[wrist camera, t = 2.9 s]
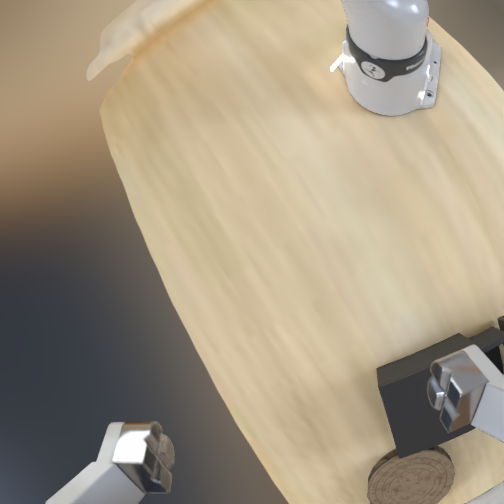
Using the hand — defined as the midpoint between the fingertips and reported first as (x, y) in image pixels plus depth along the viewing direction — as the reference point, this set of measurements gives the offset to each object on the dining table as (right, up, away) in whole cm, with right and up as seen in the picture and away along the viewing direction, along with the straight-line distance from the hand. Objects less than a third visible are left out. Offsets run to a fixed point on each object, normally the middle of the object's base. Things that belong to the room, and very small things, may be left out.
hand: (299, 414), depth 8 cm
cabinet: (+27, -17, +35) cm, 47 cm away
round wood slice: (+27, -36, +33) cm, 56 cm away
